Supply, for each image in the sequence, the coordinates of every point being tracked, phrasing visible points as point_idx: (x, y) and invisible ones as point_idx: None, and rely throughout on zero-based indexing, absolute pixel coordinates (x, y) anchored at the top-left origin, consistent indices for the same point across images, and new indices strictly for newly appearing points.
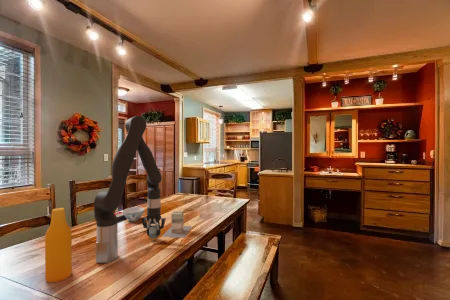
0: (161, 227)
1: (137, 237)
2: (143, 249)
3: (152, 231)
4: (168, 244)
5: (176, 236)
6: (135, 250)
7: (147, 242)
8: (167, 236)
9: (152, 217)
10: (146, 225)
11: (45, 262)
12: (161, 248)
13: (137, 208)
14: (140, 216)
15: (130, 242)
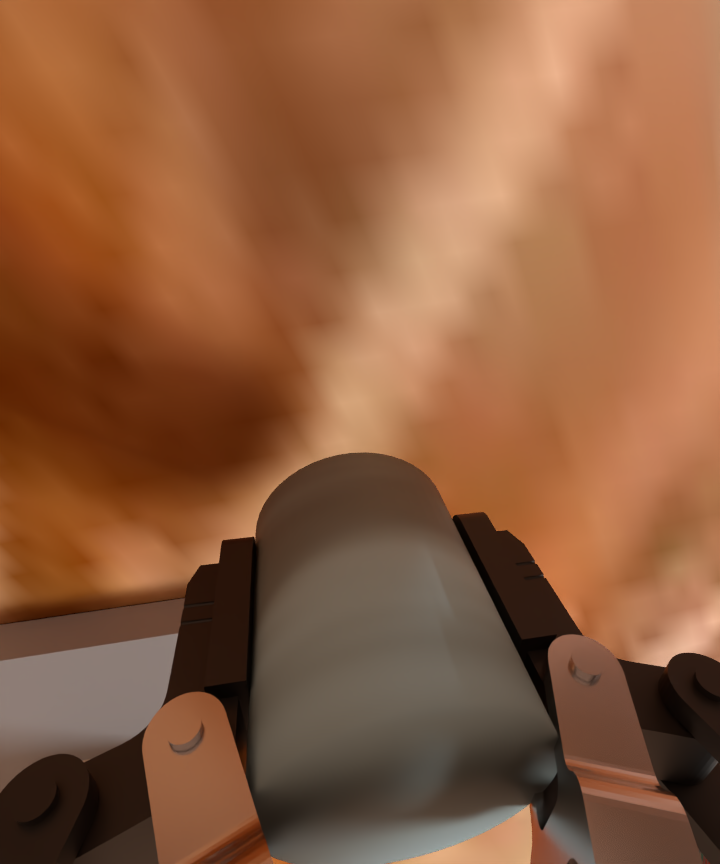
0: (12, 833)
1: (636, 548)
2: (397, 136)
3: (360, 586)
4: (4, 452)
5: (5, 682)
6: (556, 53)
7: (441, 446)
8: (170, 646)
9: None
10: (670, 768)
11: None
12: (9, 250)
13: None
14: (706, 859)
15: (709, 393)
